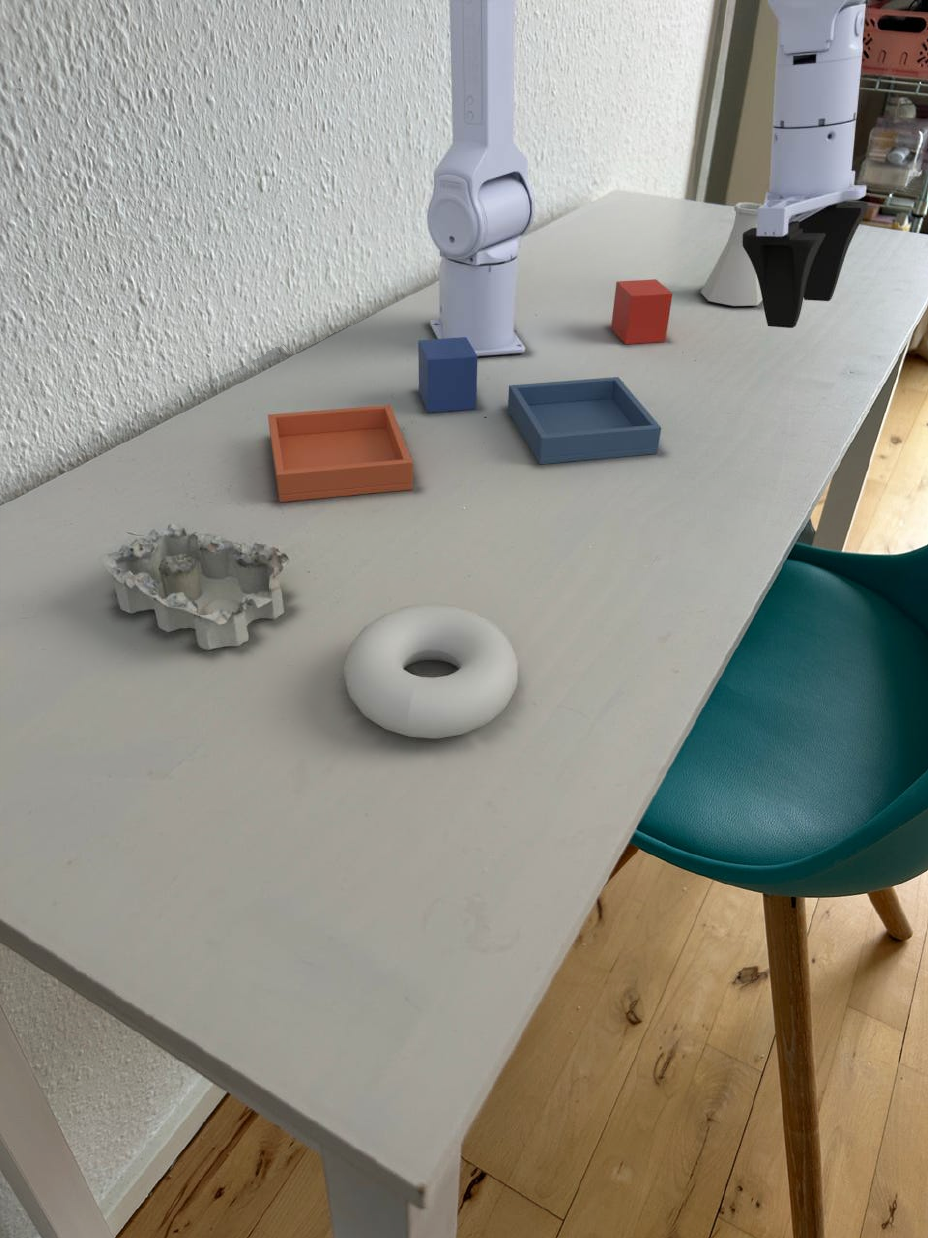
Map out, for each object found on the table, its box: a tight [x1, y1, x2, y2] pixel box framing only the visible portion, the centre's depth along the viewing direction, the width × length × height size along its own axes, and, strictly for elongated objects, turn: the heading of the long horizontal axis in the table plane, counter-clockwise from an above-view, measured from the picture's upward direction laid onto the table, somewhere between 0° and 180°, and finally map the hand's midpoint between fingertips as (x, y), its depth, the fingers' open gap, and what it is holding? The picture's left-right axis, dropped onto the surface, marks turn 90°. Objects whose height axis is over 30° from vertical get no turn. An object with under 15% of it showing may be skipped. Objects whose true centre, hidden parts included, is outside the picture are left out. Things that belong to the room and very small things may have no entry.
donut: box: [343, 603, 519, 740], centre depth 54 cm, size 10×4×10 cm
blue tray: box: [507, 376, 662, 465], centre depth 81 cm, size 10×10×2 cm
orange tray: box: [267, 404, 414, 503], centre depth 76 cm, size 10×10×2 cm
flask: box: [700, 201, 763, 307], centre depth 106 cm, size 7×7×10 cm
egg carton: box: [96, 522, 290, 651], centre depth 60 cm, size 11×8×4 cm
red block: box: [610, 278, 673, 345], centre depth 98 cm, size 4×4×5 cm
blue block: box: [417, 337, 479, 414], centre depth 85 cm, size 4×4×5 cm
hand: (800, 312), depth 76 cm, fingers open, 7 cm apart
